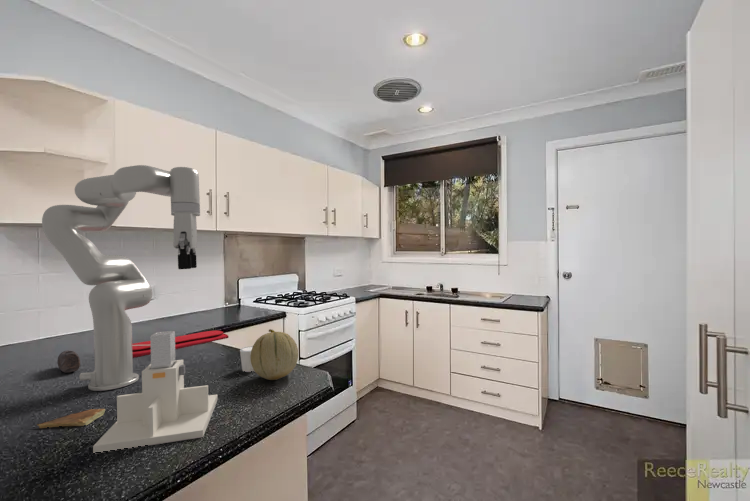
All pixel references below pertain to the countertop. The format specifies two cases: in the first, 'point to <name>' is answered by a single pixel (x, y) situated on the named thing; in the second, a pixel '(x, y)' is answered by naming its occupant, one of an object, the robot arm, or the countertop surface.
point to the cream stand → (159, 411)
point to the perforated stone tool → (68, 361)
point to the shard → (74, 419)
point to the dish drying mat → (180, 342)
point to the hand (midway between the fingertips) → (187, 268)
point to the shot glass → (246, 359)
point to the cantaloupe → (274, 355)
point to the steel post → (162, 350)
